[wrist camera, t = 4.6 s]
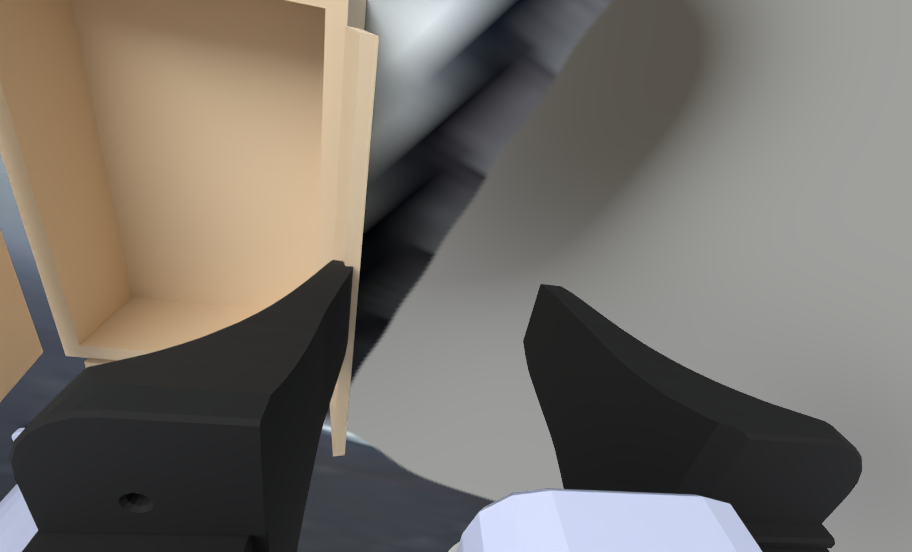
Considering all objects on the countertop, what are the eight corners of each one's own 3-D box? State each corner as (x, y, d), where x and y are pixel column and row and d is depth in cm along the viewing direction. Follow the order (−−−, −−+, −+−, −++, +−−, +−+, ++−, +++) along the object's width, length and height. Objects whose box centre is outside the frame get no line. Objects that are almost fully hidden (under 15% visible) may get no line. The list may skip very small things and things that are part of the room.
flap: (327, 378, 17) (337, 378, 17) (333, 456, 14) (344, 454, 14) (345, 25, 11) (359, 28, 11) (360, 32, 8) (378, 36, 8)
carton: (346, 334, 22) (331, 390, 19) (129, 311, 21) (69, 368, 17) (371, -25, 15) (355, -42, 11) (40, -97, 13) (-95, -142, 10)
